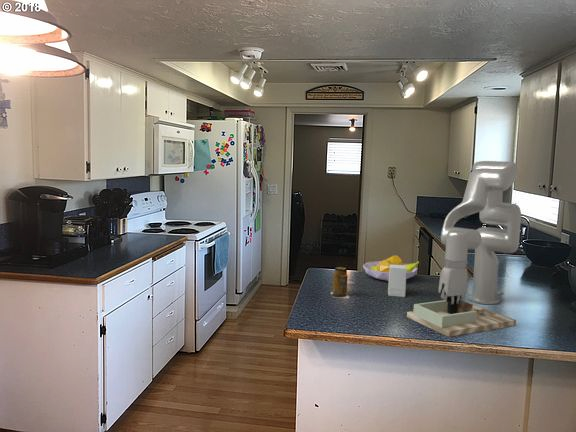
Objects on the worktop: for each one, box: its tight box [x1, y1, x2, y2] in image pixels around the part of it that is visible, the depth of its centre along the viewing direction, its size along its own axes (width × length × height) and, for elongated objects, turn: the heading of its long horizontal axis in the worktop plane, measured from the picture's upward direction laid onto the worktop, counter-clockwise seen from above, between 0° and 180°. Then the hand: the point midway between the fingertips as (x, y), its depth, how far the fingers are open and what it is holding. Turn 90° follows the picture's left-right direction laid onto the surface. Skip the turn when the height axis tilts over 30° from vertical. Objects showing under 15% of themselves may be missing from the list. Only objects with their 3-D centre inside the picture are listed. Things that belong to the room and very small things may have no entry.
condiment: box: [330, 266, 350, 299], centre depth 210 cm, size 7×8×12 cm
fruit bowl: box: [362, 254, 420, 282], centre depth 243 cm, size 28×27×11 cm
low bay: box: [412, 299, 477, 328], centre depth 177 cm, size 16×15×4 cm
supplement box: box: [387, 265, 407, 298], centre depth 215 cm, size 7×7×13 cm
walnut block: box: [457, 299, 473, 313], centre depth 180 cm, size 5×5×5 cm
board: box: [406, 302, 517, 338], centre depth 181 cm, size 32×22×2 cm
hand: (451, 313), depth 179 cm, fingers closed
